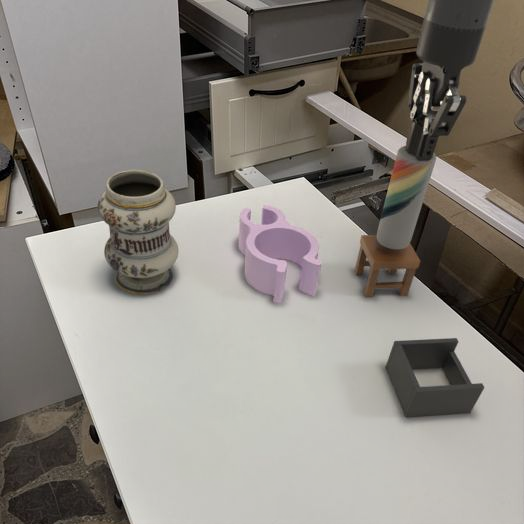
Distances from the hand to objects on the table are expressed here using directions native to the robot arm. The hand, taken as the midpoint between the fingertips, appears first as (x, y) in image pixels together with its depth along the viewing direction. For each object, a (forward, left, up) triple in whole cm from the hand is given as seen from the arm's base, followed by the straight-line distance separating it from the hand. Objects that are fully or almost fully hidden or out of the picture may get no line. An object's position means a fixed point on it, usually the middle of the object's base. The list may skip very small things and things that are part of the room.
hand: (418, 152), depth 77 cm
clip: (+19, -6, -25) cm, 32 cm away
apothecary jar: (+42, -4, -25) cm, 49 cm away
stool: (0, 0, -25) cm, 25 cm away
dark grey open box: (+1, +25, -25) cm, 35 cm away
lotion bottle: (0, 0, -16) cm, 16 cm away
